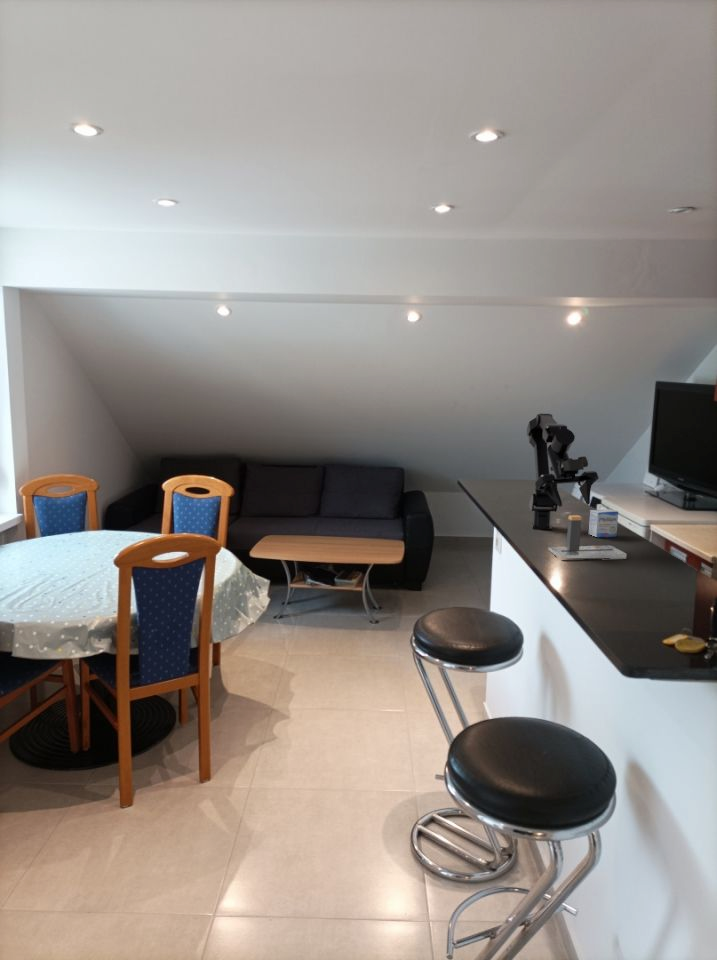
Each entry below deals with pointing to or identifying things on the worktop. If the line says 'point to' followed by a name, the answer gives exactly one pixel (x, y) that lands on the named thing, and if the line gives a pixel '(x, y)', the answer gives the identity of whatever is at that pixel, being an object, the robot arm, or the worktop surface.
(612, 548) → the fader console
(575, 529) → the fader lever
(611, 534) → the medicine box
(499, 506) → the worktop surface
